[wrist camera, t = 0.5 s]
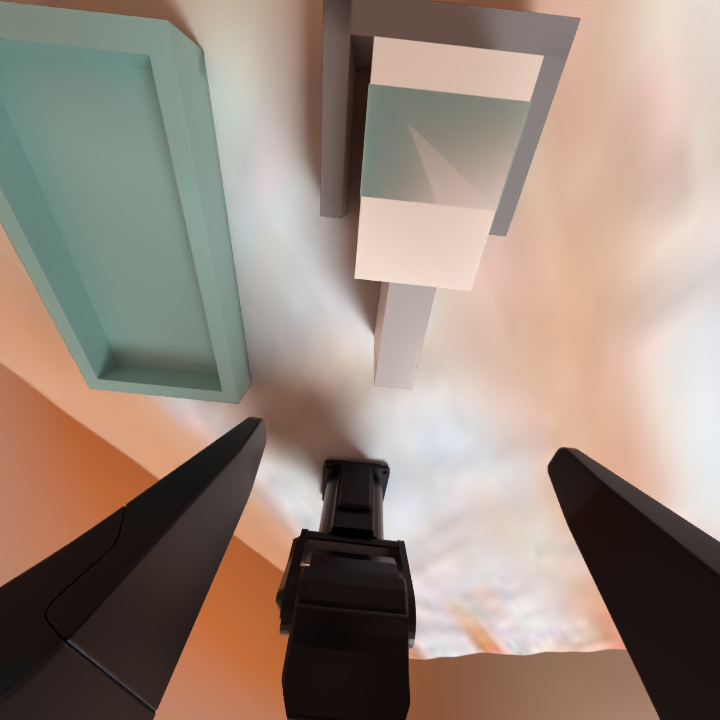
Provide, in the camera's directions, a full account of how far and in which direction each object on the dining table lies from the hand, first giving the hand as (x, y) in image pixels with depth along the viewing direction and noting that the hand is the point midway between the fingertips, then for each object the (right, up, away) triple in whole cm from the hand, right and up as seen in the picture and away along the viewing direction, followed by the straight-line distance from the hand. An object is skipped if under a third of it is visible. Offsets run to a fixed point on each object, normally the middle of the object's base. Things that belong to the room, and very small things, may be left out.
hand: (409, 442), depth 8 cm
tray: (-15, +9, +9) cm, 20 cm away
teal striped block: (+1, +9, +8) cm, 12 cm away
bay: (+2, +14, +6) cm, 15 cm away
